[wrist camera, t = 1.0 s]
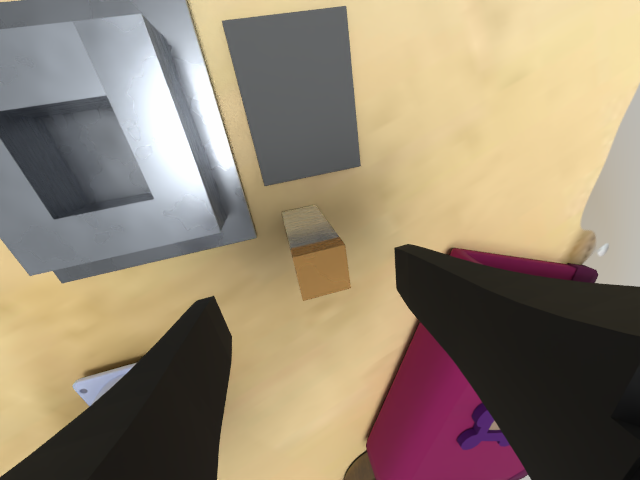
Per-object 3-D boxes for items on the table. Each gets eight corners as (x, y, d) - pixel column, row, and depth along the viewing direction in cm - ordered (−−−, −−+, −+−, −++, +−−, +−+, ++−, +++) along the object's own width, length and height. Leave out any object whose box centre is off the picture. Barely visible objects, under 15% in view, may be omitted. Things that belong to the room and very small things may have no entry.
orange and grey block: (320, 235, 20) (350, 287, 13) (288, 243, 20) (303, 300, 13) (315, 204, 19) (345, 244, 12) (281, 212, 19) (292, 257, 12)
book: (360, 435, 33) (386, 513, 26) (442, 243, 23) (516, 288, 17) (482, 422, 39) (529, 484, 32) (587, 264, 29) (686, 305, 23)
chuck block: (256, 234, 19) (255, 256, 16) (68, 278, 17) (23, 312, 14) (183, -10, 13) (158, -58, 10) (-115, 21, 11) (-267, -24, 8)
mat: (358, 165, 18) (360, 166, 18) (264, 185, 17) (264, 186, 17) (343, 9, 15) (346, 5, 14) (222, 23, 14) (221, 20, 13)
